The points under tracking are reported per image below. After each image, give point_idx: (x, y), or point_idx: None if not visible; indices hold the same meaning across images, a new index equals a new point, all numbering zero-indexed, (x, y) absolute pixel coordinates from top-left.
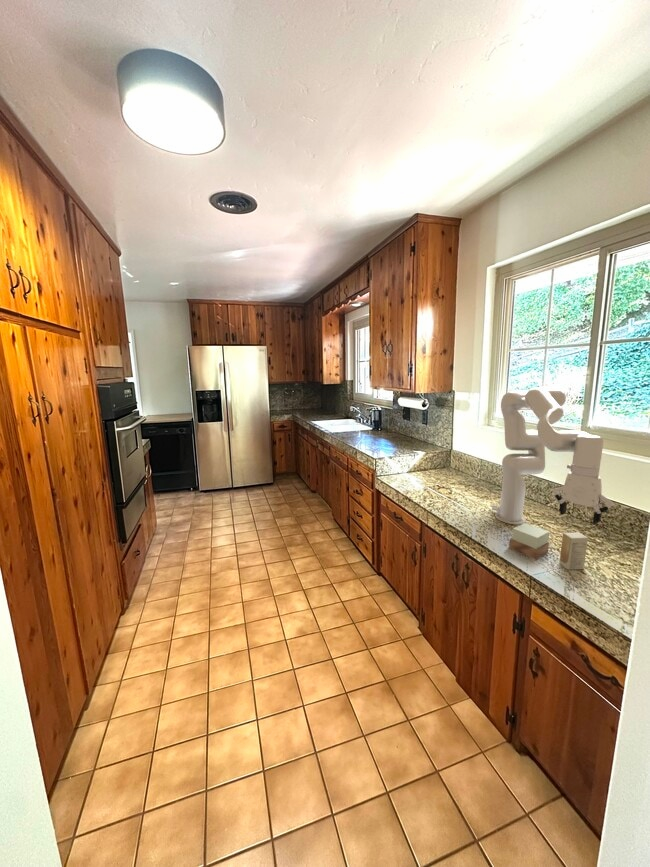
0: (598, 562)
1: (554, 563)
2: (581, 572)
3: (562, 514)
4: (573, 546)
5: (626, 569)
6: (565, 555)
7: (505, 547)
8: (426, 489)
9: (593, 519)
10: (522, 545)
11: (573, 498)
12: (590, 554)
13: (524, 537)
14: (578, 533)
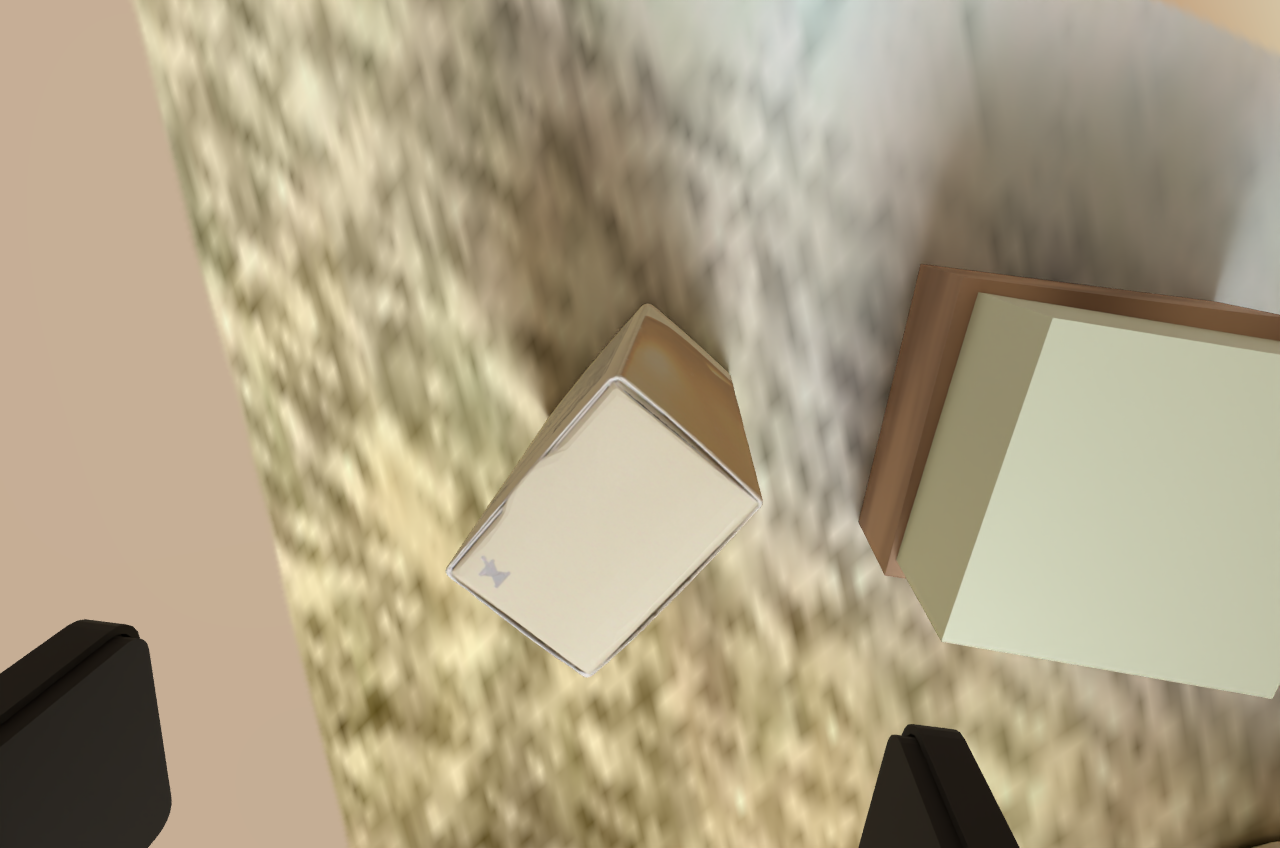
0: (498, 625)
1: (762, 335)
2: (546, 346)
3: (897, 737)
4: (596, 379)
5: (333, 652)
6: (679, 353)
7: (1252, 301)
8: None
9: (33, 719)
10: (1133, 296)
11: None
12: (575, 716)
13: (1194, 333)
14: (580, 628)
